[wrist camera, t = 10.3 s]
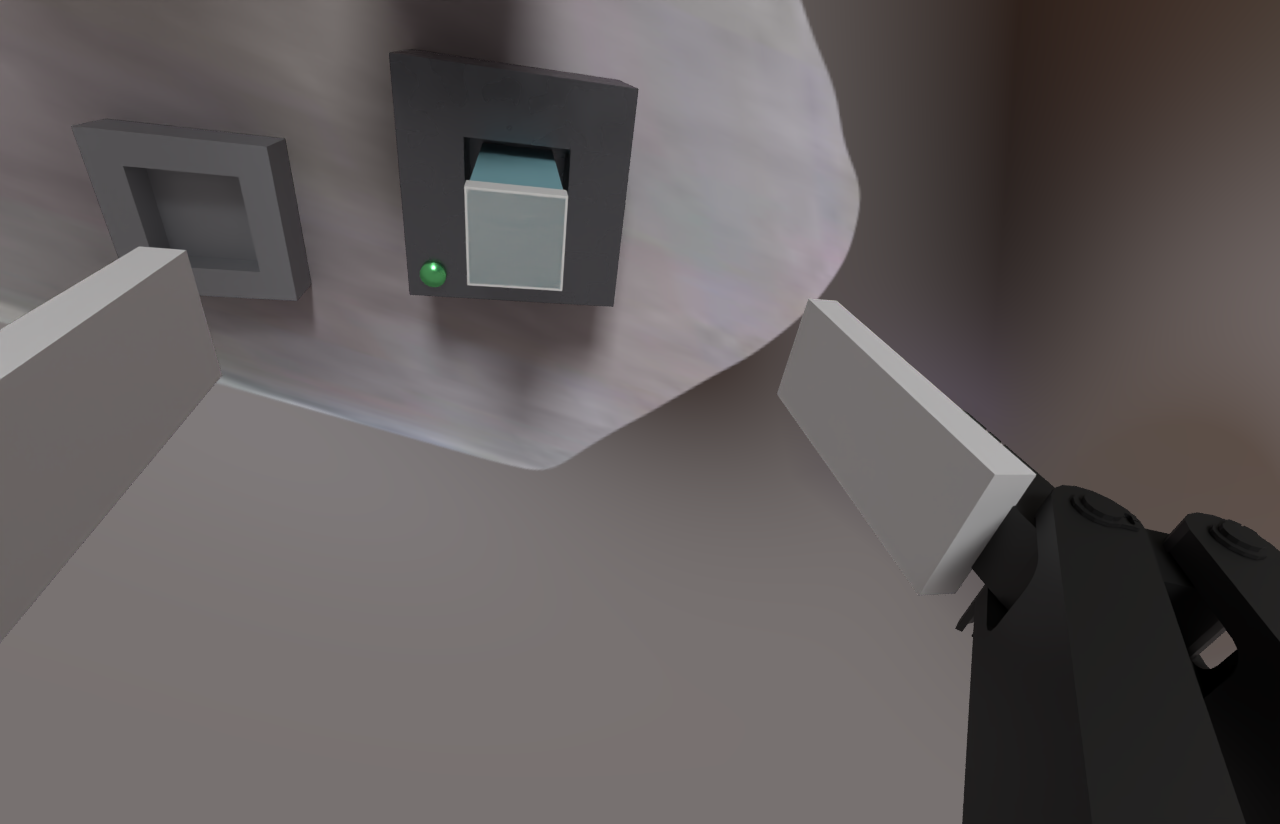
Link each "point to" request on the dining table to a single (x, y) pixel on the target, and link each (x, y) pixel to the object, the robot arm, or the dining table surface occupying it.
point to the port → (521, 117)
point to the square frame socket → (201, 203)
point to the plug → (515, 219)
